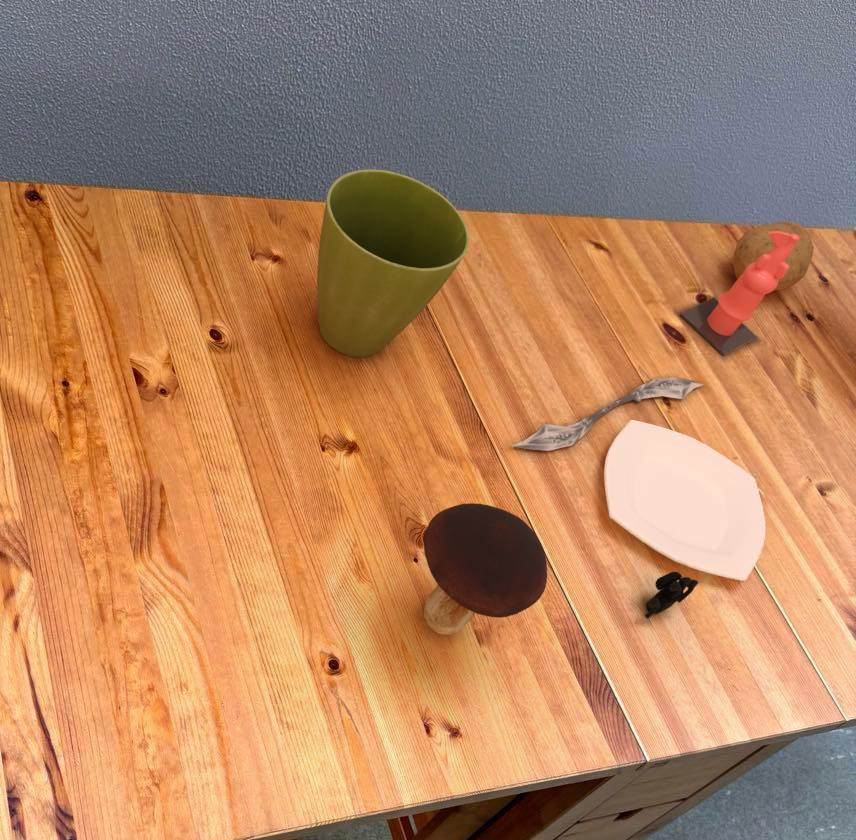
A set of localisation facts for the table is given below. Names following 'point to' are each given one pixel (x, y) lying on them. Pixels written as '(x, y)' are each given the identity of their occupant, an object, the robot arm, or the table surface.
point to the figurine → (752, 286)
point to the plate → (684, 500)
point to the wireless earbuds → (669, 592)
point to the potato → (762, 243)
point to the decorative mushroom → (481, 566)
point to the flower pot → (382, 257)
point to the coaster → (719, 342)
